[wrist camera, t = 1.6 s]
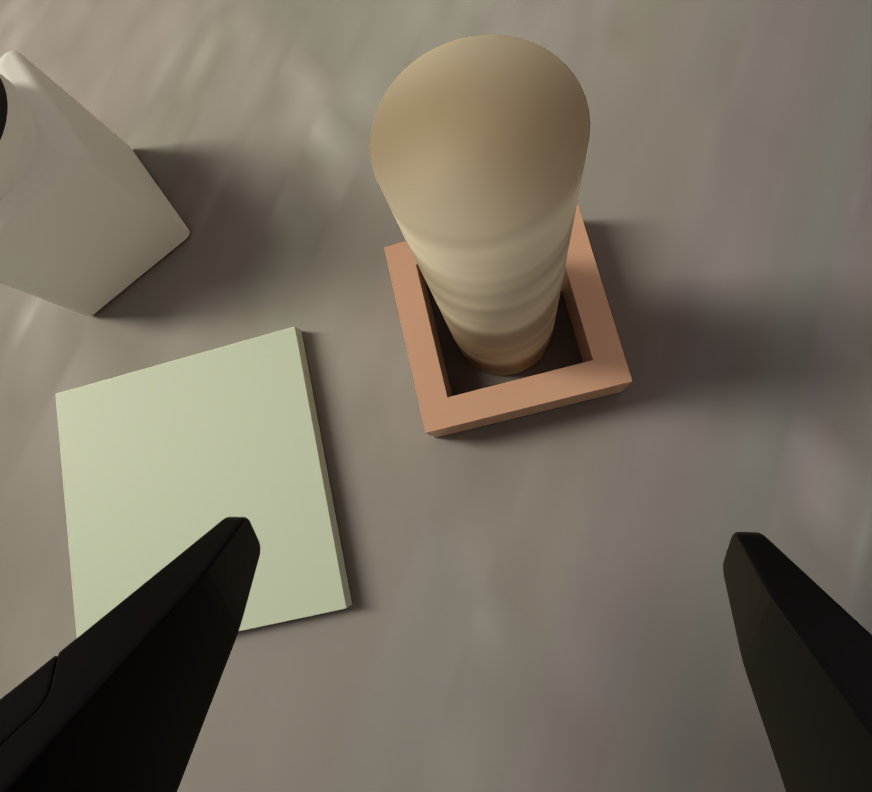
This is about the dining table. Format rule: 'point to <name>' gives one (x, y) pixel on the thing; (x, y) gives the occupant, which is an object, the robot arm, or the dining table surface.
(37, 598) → the dining table surface
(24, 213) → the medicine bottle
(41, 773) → the robot arm
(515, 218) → the beige ribbed peg
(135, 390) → the sage board
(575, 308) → the terracotta socket
